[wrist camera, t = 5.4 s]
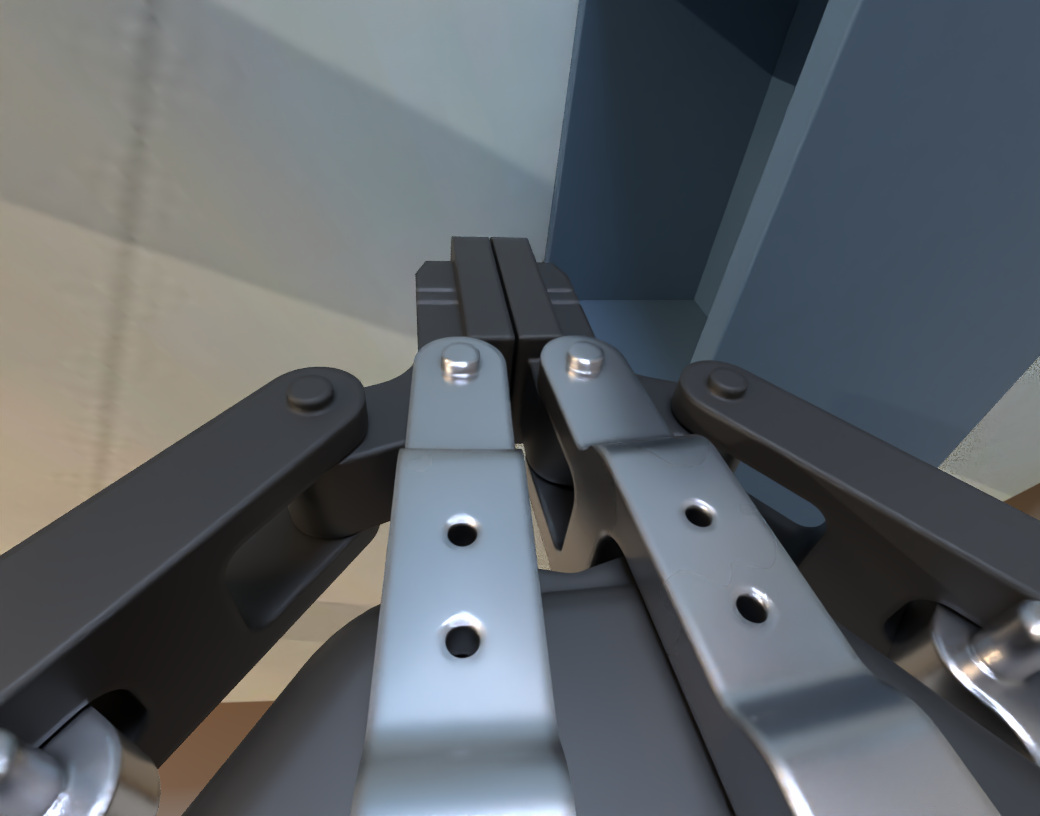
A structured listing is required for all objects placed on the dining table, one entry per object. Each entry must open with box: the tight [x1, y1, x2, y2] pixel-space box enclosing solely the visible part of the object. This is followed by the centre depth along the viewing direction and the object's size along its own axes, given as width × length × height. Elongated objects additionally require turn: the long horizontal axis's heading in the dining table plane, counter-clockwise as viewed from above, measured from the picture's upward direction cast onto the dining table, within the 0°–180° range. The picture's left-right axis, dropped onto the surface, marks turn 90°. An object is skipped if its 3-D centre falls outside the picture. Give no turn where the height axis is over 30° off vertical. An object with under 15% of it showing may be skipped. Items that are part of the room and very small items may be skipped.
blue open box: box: [544, 0, 1040, 527], centre depth 14 cm, size 7×12×12 cm, turn 175°
